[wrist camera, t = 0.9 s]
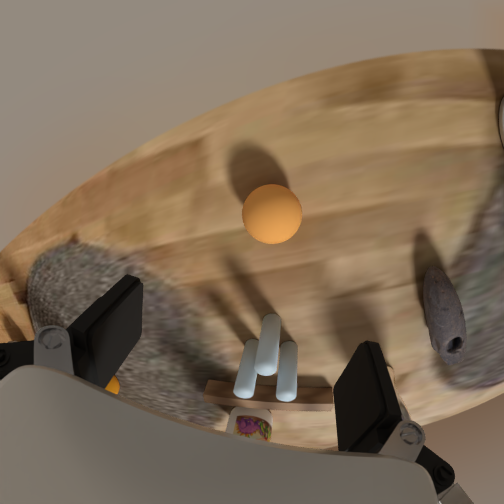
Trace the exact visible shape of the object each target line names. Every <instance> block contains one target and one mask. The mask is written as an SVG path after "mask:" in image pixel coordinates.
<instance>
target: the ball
mask: <svg viewBox="0 0 504 504" xmlns="http://www.w3.org/2000/svg"><path fill="white" fill-rule="evenodd" d="M242 218H243V223H244V225H245V228H246V229H247V231H248V232H249V233H250V234H251V235H252V236H253V237H254V238H255V239H257V240H259V241H261V242H264V243H268V244H276V243H281V242H284V241H286V240H288V239H289V238H290V237H292V236H293V235H294V234H295V232H296V231H297V230H298V228H299V226H300V223H301V219H302V209H301V205H300V203H299V200H298V199H297V197H296V196H295V195H294V193H293V192H291V191H290V190H289V189H287V188H286V187H283V186H281V185H276V184H268V185H263V186H260V187H258V188H257V189H255V190H254V191H252V192H251V193H250V194H249V195H248V197H247V198H246V200H245V202H244V205H243V209H242Z"/></svg>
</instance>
